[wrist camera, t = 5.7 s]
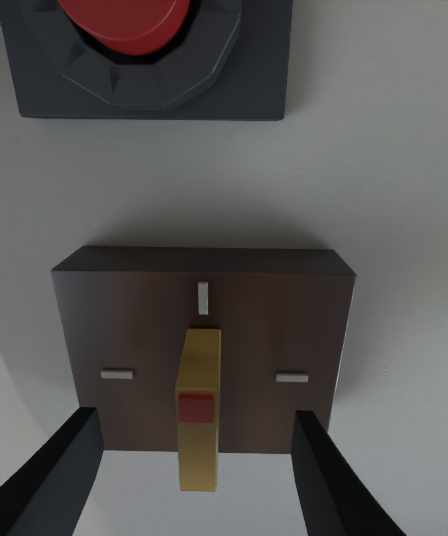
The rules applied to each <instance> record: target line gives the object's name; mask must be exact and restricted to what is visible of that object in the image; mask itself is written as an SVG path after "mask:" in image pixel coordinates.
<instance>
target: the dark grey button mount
mask: <svg viewBox="0 0 448 536" xmlns="http://www.w3.org/2000/svg"><path fill="white" fill-rule="evenodd" d="M292 5H293V0H191V5H190V9H189V13H188V15H187V18H186V21H185V23H184V25H183V27H182V29H181V30H180V32H179V33H178V35H177V36H176V37H175V38H174V39H173V40H172V41H171V42H170V43H169V44H168V45H167V46H166V47H164V48H163V49H161V50H159V51H157V52H155V53H152V54H148V55H144V56H130V55H125V54H121V53H119V52H116V51H114V50H112V49H110V48H109V47H107V46H105V45H104V44H103V43H101V42H100V41H99V40H97V39H96V38H95V37H93V36H92V35H90V34H89V33H88V32H86V31H85V30H84V29H82V28H81V27H80V26H78V25H77V24H76V23H75V22H74V21H73V20H72V19H71V18H70V17H69V16H68V15H67V14H66V12H65V11H64V10H63V9H62V7H61V6H60V4H59V3H58V1H57V0H0V22H1V27H2V31H3V36H4V41H5V46H6V50H7V55H8V60H9V65H10V69H11V74H12V79H13V84H14V88H15V93H16V98H17V103H18V107H19V112H20V115H21V116H22V117H28V118H44V119H138V120H232V121H279V120H282V119H284V113H285V99H286V86H287V72H288V59H289V45H290V32H291V19H292Z"/></svg>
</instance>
